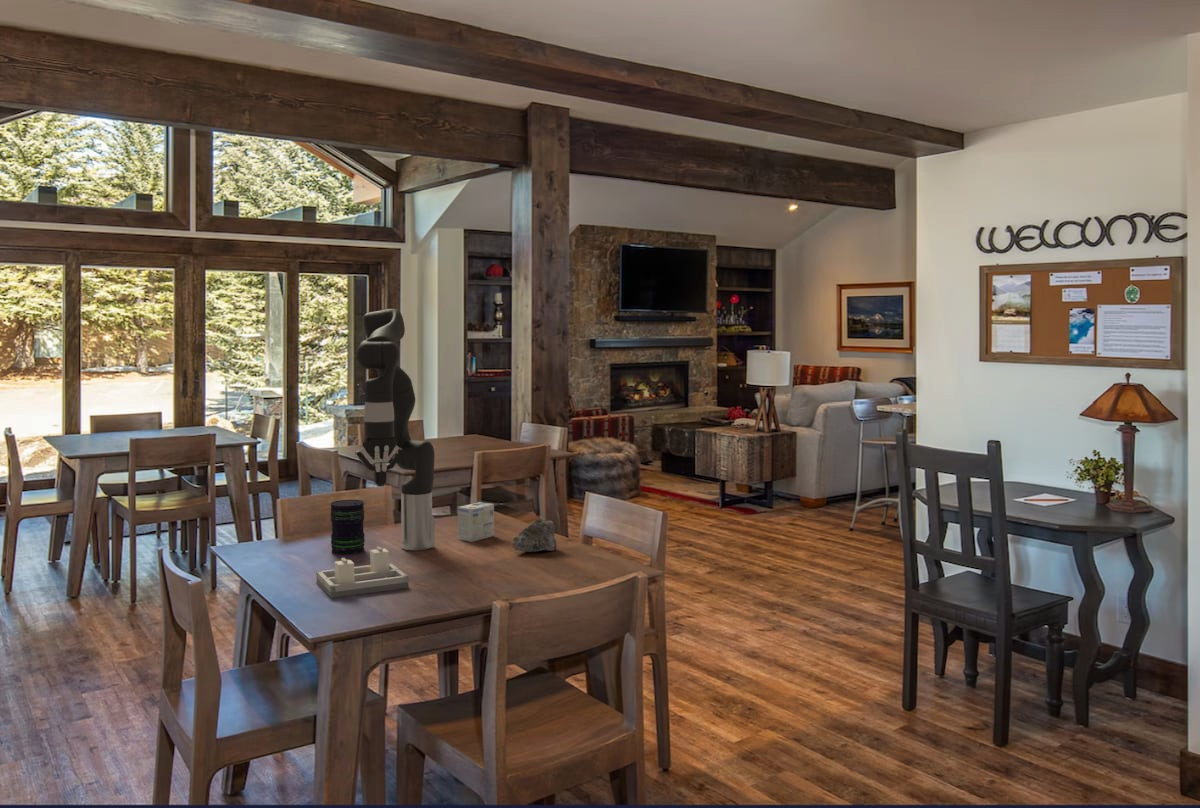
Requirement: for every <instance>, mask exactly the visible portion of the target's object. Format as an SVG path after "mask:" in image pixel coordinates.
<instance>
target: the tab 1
mask: <svg viewBox="0 0 1200 808" xmlns="http://www.w3.org/2000/svg"><path fill="white" fill-rule="evenodd" d="M340 559H341V560H337V561H334V569H335V584H343V583H351V582H355V581H354V567H355V563H354V562H353V561H352V560H351V559H346V558H345V557H341V558H340Z"/></svg>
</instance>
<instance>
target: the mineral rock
mask: <svg viewBox="0 0 1200 808" xmlns="http://www.w3.org/2000/svg"><path fill="white" fill-rule="evenodd" d="M555 534H556V531H555V523H554V522H553V521H552V520H544V519H542V518H537V519H535V520H534V521H532V523H531V524H530V525H529V526H527V527H525V528H524V529H522V531H520V533H518V535H516V536H514V537H513V539H512V541H513V545H512V547H513V550H514V551H517V552H518V551H519V552H527V553H538V552H541V551H551V552H553V551H556V550H557V539H556V537H555Z"/></svg>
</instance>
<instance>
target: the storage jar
mask: <svg viewBox="0 0 1200 808" xmlns="http://www.w3.org/2000/svg"><path fill="white" fill-rule="evenodd" d="M364 503H365V501H363V500H359V499H342V500H341V499H340V500H335V501H332V502H330V522H331V534H330V539H331V540H330V546H331V554H333V555H335V556H336V555H337V556H354V555H358V554H362V553H364V552H365V543H366V542H365V541H366V538H365V532H364V520H365V508H364Z"/></svg>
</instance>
